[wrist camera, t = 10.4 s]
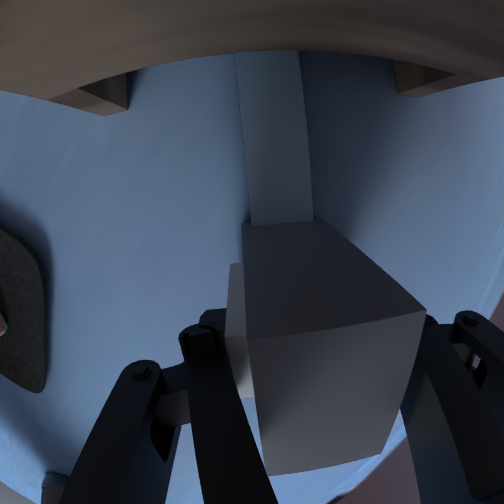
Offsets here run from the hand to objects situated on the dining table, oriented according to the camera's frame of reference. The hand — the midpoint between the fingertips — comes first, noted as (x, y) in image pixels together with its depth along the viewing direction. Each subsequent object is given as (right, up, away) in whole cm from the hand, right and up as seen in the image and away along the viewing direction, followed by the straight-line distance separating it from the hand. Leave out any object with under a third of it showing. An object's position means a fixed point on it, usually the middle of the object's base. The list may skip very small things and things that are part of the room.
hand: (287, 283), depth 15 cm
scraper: (-1, +10, -2) cm, 11 cm away
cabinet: (-1, +16, -4) cm, 16 cm away
